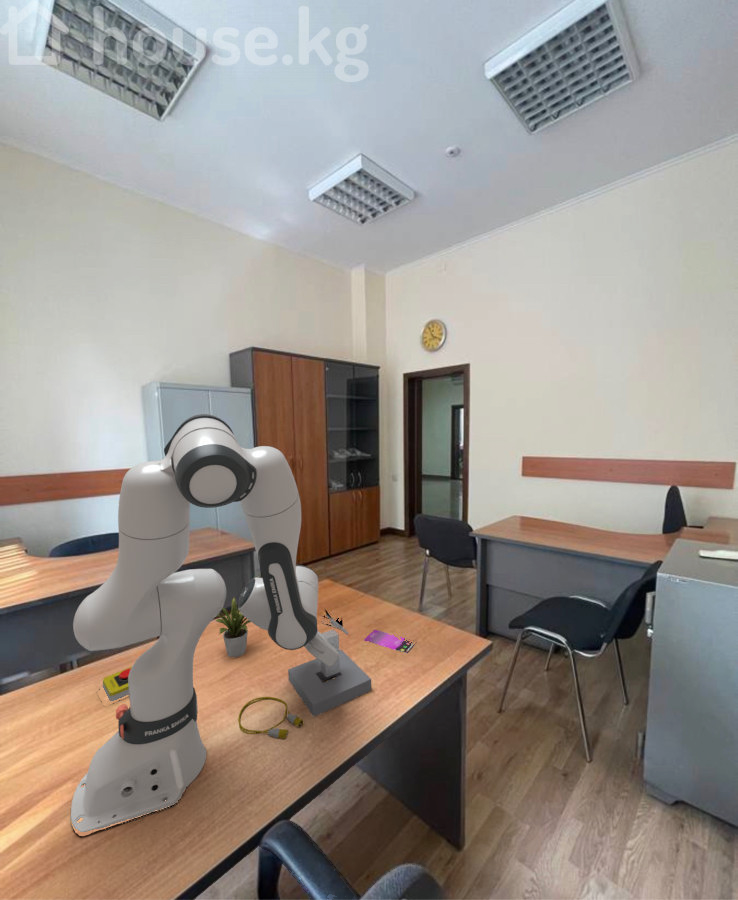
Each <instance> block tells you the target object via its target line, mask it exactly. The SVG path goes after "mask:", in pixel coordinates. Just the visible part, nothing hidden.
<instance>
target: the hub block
mask: <svg viewBox="0 0 738 900" xmlns="http://www.w3.org/2000/svg"><path fill="white" fill-rule="evenodd" d="M339 659H340V672H339V673H336V674H334V675H331V676H329V677H325V676H324V675H323V673H322V672H321V661H320V660H318V659H317V658H314V659H312V660H310V661H309V660H308V661H307V662H304V663H302V664H299V665H295V666H292V667H290V668H289V669H287V670H288V673H287V674H288V682H289V683H290V685H291V686H292V688H293V689H294V691H296V693H297V695H298V696H299V697H300V699H301V701H303V702H302V703H304V705H305V707H306V708H307V710H308V712H310V714H311V715H312V717H313V718H315V717H317V716H320V715H322V714H324V713H326V712H328V711H330V710H332V709H334V708H336V707H338V706H341V705H343V704H345V703H347V702H349V701H352V700H354V699H356V698H359V697H361V696H362V695H364V694H367V693H369V692H371V691H372V678H371V677H370V676H369V675H368V674H367V673H366V672H365V671H364V670H363V669H362V668H361V667H359V666H358V664H357V663H356V662H355V661H354V660H353V659H351V658H350V656H349V655H347V653H346V652H344V651H343V650H342V649H339Z"/></svg>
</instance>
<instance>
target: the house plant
mask: <svg viewBox="0 0 738 900" xmlns="http://www.w3.org/2000/svg"><path fill="white" fill-rule="evenodd" d="M230 609H231V610H230V612H229V611H228V609H226V608H225V607H224V606H223V608H222V609H221V611H220V613H219V614H218V615H217V616H216V617H219V618H217V619H215V622H217V623H221V624H223V626H225V627H220V628H219V633H218V634H219V635H221V634H222V633H223V634H222V638H223V641H224V647H225V650H226V654H227V657H229V658H231V657H236V658H239V657H241V655H242V656H243V655H245V653H246V650H247V641H248V634H249V633H248V632H249V630H248V627H247V624H249V623H252V622H251V621H249V620H248V619H247V618H246V617H244V616H243V615H242V613H241V612H240V611H239V609H238V603H237V602H236V598H235V597H233V598H232V599H231V607H230ZM222 612H223V613H222ZM220 614H221V615H220ZM216 617H215V618H216ZM219 635H218V636H219ZM238 656H239V657H238Z"/></svg>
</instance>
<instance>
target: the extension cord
mask: <svg viewBox="0 0 738 900" xmlns="http://www.w3.org/2000/svg"><path fill="white" fill-rule="evenodd" d="M266 700H269V701H270V700H271V701H275V702H279V703H282V704H283V705H284V706H285V709H284V710H285V711H284V716H283V718H282V720H281V721H280V722H278V724H276V725H273V726H271V727H270V728H268V729H265V730H255V729H249V728H246V727H244V726H243V725H242V723H241V718H242V717H241V716H242V713H244V711H245V709H246V708H248V707H249V706H250V705H253V704H255V703H258V702H260V701H266ZM286 715H287V716H286ZM285 719H287V720H288V721H289V722H290V724H291V725H293V726H296V727H298V728H300V727H301V726H304V723H305V721H304V720H303V719H301V718H300V717H299V716H298V715H297V714H293V713H290V710H288V704H287V703H286V702H285V700H283V699H281V698H278V697H273V696H260V697H256V698H253V699H251V700H250V701H248V702H246V703H245V704H244V706H242V708H241V709H240V710H239V714H238V719H237V721H238V726H239V730H240V731H241V732H242V733H243V734H246V735H258V734H267V736H268V737H272V738H274V739H287V736H288V734H289V730H288V729H285V728H278V726H280V725H281V724H282V723H284V721H285ZM300 725H301V726H300ZM276 727H277V728H276Z"/></svg>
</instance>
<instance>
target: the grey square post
mask: <svg viewBox="0 0 738 900" xmlns="http://www.w3.org/2000/svg"><path fill="white" fill-rule="evenodd" d="M320 633H321V632H320ZM321 634H322V635H323V636H324V637H325V639H326V640H327V641H328V642H329V643H330V644H331V645H332V646H333V647H334V648H335V649H336V650H337V651H338V652H339V650H340V636H339V633H338V632H336V630H334V628H333V629H331V630H327V631H324V632H322V633H321ZM321 672H322V673H323V675H324V676H325V677H329V676H331V675H334V674H336V673H339V672H340V659H339V657H338V659H337V660H336V662H335V663H334V665H333V666H332V667H328V666H327V665H325V664H324V663H322V662H321Z"/></svg>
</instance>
